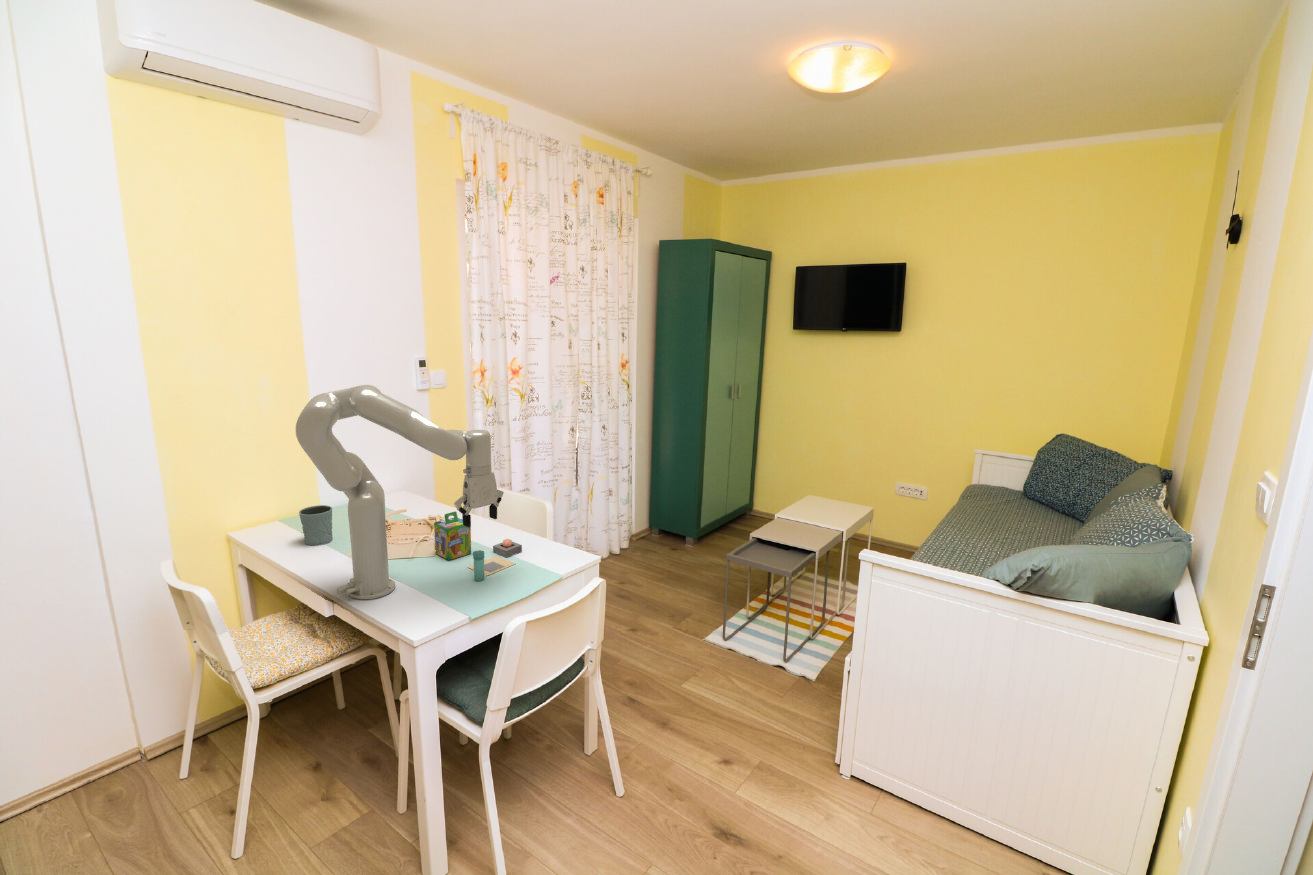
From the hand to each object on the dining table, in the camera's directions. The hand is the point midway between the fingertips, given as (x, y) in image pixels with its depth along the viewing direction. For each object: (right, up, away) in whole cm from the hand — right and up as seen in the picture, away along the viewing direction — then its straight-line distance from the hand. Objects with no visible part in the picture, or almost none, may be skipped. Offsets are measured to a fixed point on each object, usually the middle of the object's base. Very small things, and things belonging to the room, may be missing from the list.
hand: (480, 522), depth 185 cm
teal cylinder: (0, -18, 0) cm, 18 cm away
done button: (+3, -12, +22) cm, 25 cm away
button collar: (+3, -14, +22) cm, 26 cm away
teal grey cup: (-66, -11, +25) cm, 71 cm away
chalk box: (-15, -14, +19) cm, 28 cm away
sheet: (+1, -16, +10) cm, 19 cm away
